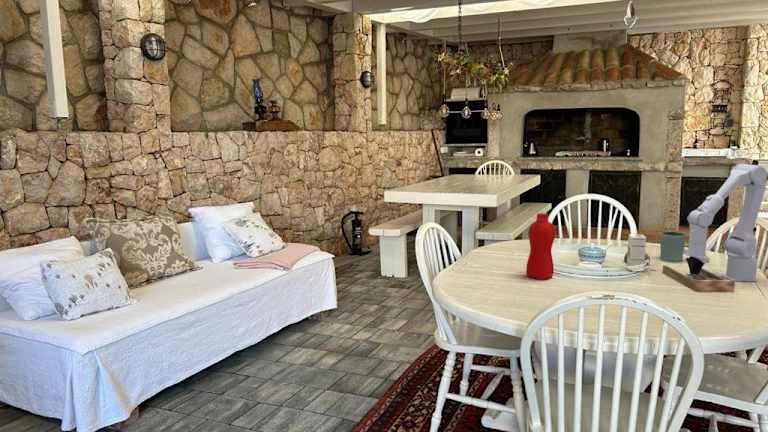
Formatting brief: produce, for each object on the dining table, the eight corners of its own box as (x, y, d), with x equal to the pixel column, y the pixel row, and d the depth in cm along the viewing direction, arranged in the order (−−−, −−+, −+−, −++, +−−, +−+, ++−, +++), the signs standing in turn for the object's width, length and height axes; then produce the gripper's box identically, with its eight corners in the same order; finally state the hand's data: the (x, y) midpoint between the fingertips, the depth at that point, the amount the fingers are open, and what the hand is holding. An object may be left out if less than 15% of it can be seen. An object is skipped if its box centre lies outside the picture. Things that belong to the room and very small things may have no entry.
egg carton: (718, 290, 204) (719, 279, 203) (696, 290, 204) (697, 279, 204) (704, 282, 214) (705, 271, 214) (683, 281, 215) (684, 271, 214)
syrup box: (644, 272, 227) (647, 236, 225) (628, 271, 228) (631, 236, 226) (640, 268, 233) (643, 234, 230) (625, 267, 234) (628, 233, 231)
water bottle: (558, 275, 222) (561, 212, 218) (544, 281, 214) (548, 216, 210) (536, 271, 228) (539, 210, 224) (522, 276, 220) (525, 213, 216)
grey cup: (685, 259, 249) (687, 232, 247) (682, 264, 240) (685, 236, 238) (659, 256, 254) (662, 230, 252) (656, 261, 246) (659, 233, 244)
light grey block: (623, 271, 242) (624, 256, 238) (623, 256, 250) (625, 242, 246) (648, 273, 239) (650, 259, 234) (648, 258, 246) (650, 244, 242)
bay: (696, 272, 226) (696, 263, 226) (733, 291, 202) (735, 281, 201) (662, 272, 226) (663, 263, 226) (696, 291, 202) (697, 280, 201)
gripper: (677, 238, 220) (674, 271, 223) (697, 246, 206) (693, 282, 208) (695, 238, 220) (692, 271, 222) (716, 246, 206) (712, 282, 208)
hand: (694, 277), depth 215 cm, fingers closed
